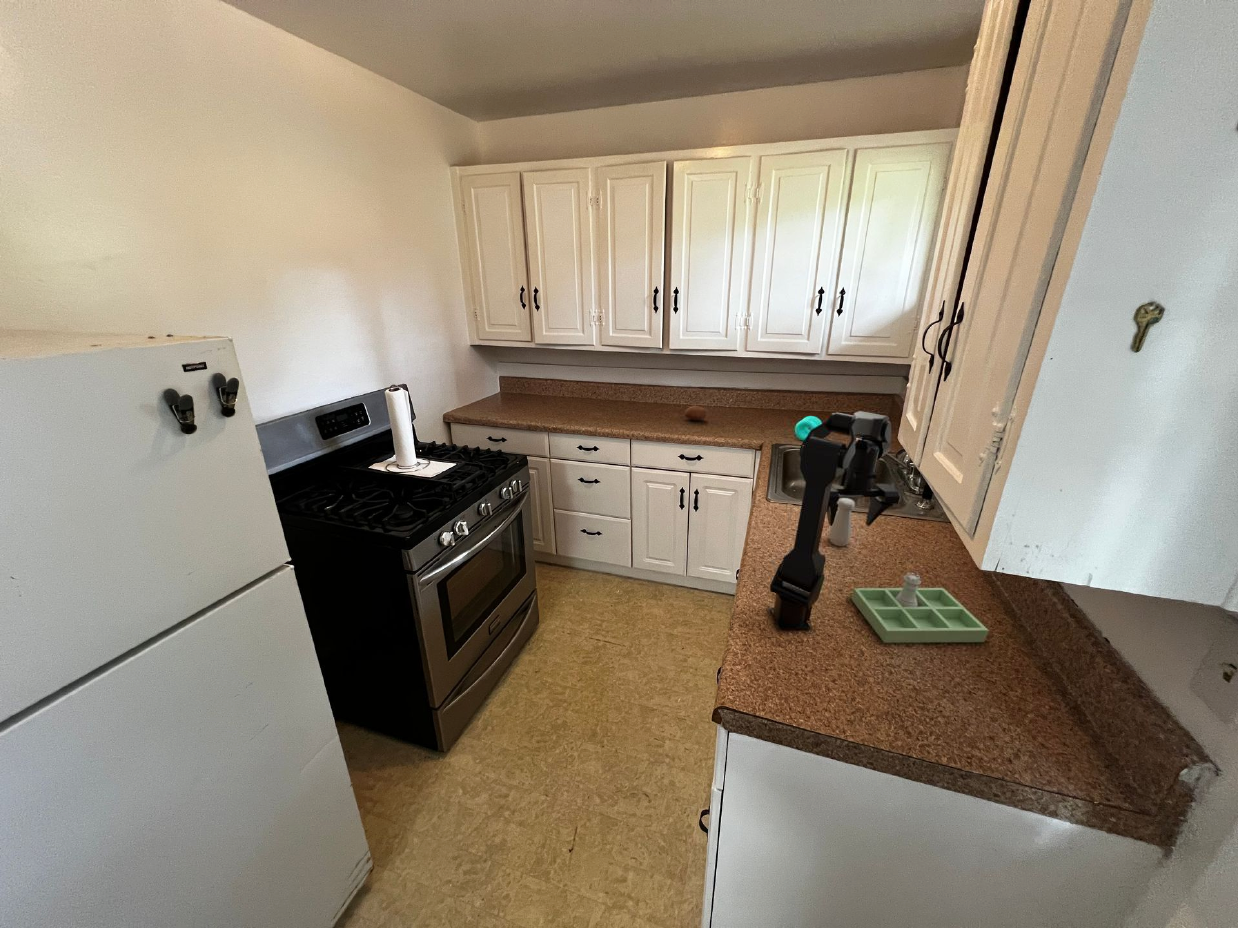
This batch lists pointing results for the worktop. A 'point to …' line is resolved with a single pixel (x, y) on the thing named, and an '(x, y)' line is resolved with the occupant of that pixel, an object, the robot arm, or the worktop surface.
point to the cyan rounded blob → (802, 426)
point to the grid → (918, 616)
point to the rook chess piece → (909, 591)
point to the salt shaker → (842, 523)
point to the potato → (695, 413)
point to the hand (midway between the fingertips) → (848, 525)
